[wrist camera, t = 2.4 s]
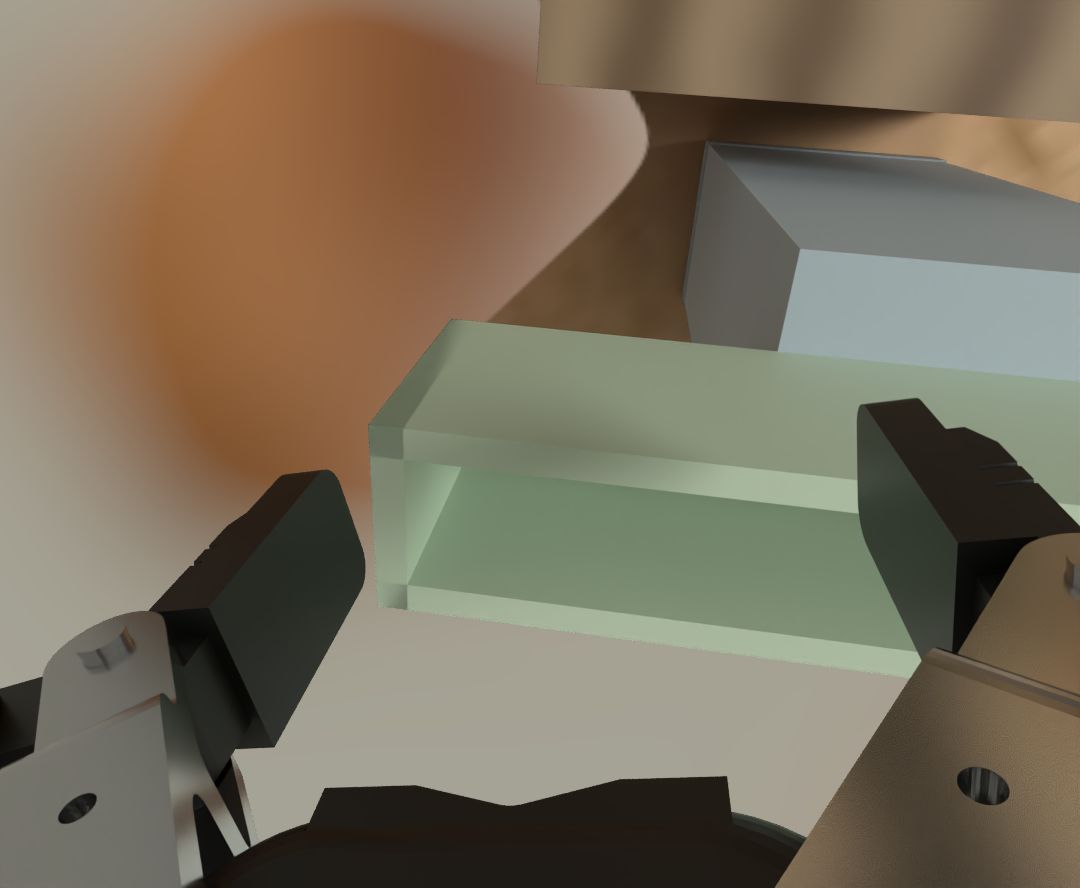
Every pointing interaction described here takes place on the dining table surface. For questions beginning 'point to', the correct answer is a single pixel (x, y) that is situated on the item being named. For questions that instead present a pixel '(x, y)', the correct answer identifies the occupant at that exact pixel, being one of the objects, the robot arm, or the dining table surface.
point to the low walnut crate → (826, 52)
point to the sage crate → (667, 487)
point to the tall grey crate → (882, 261)
